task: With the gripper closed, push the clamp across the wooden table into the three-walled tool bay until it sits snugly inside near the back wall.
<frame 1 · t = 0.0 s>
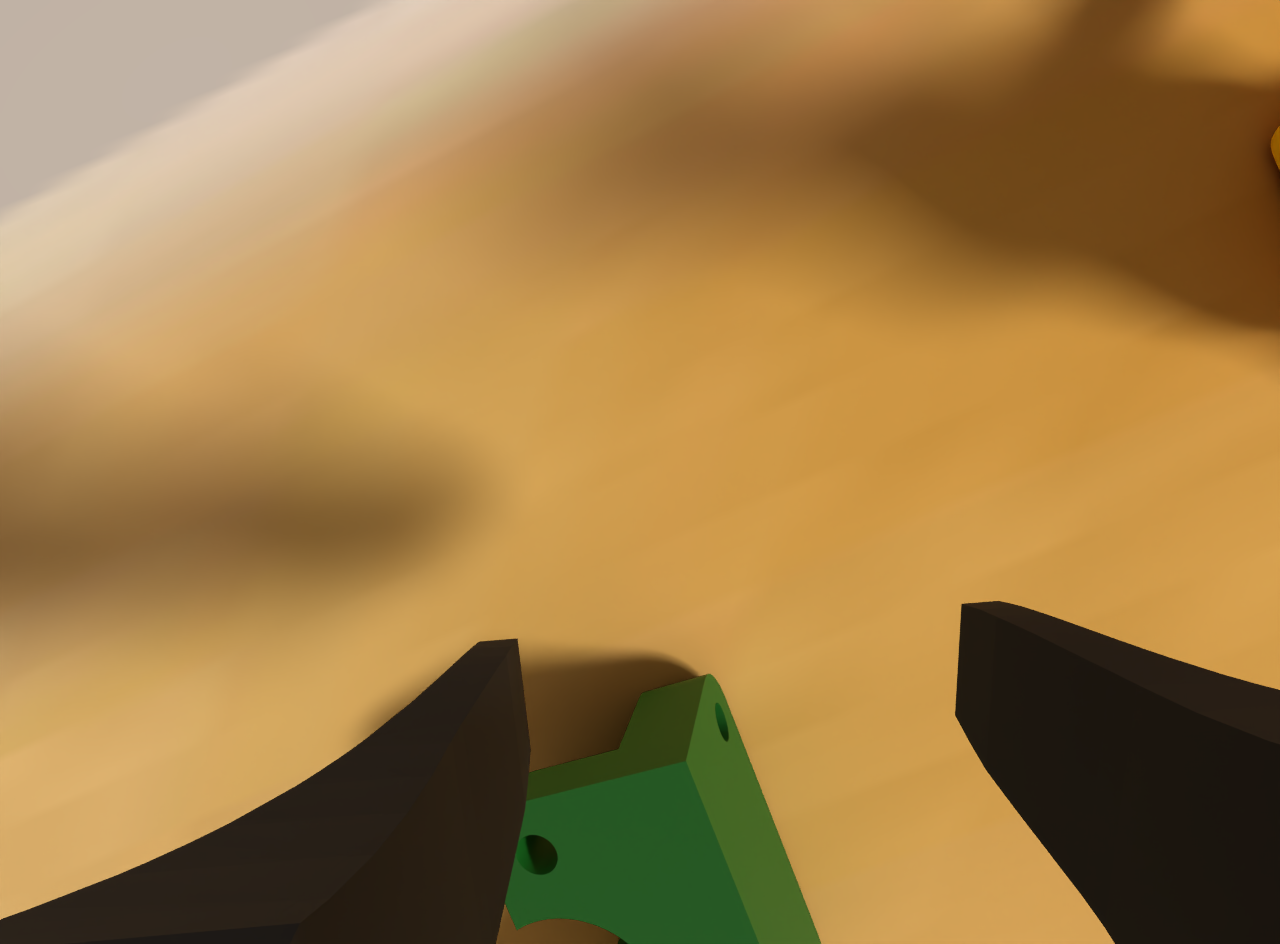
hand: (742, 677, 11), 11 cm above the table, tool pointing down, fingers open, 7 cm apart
clamp: (665, 844, 23), on the table
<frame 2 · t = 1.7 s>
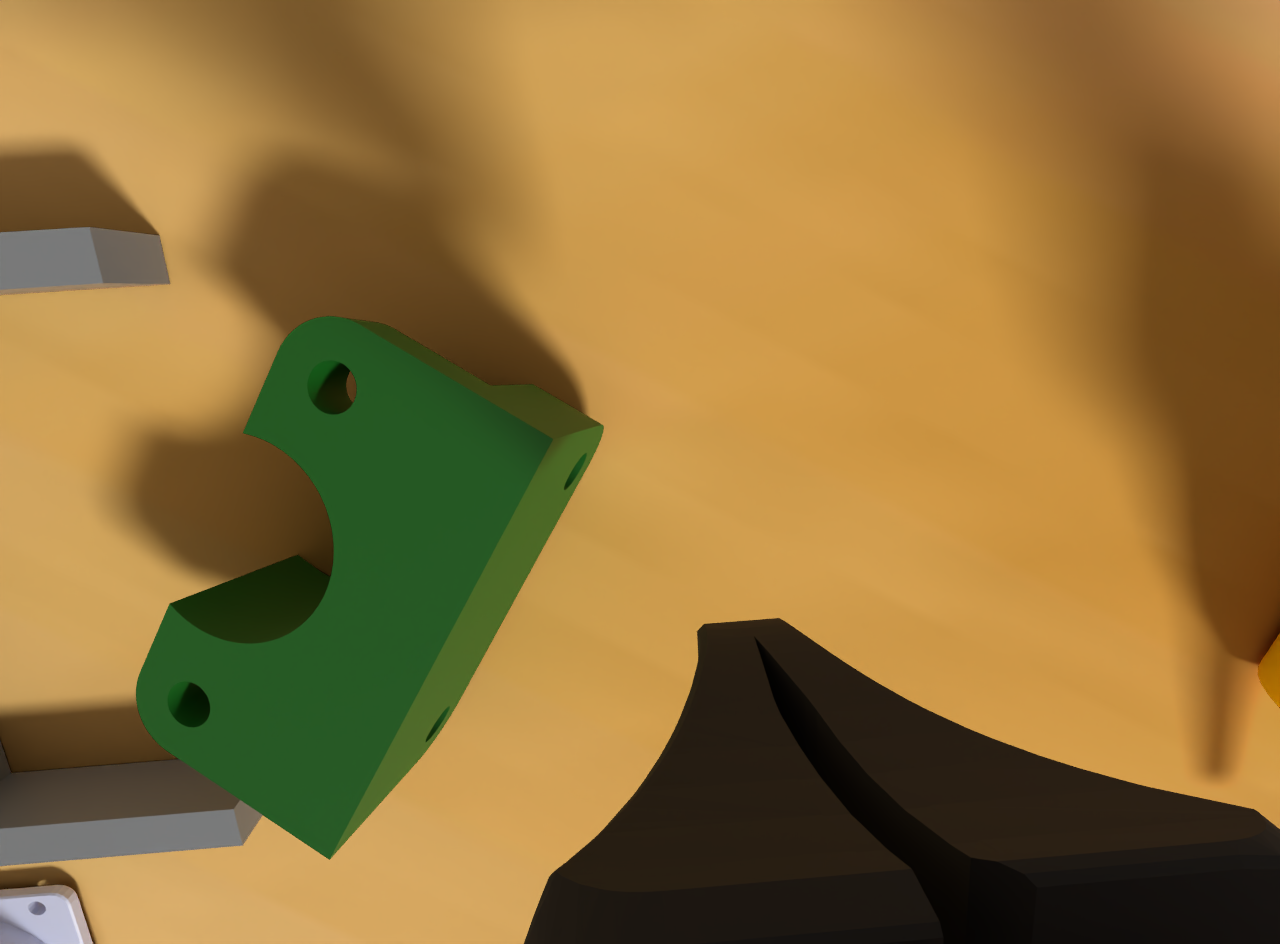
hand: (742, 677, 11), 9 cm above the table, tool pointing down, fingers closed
clamp: (413, 524, 20), on the table
tool bay: (120, 546, 20), on the table
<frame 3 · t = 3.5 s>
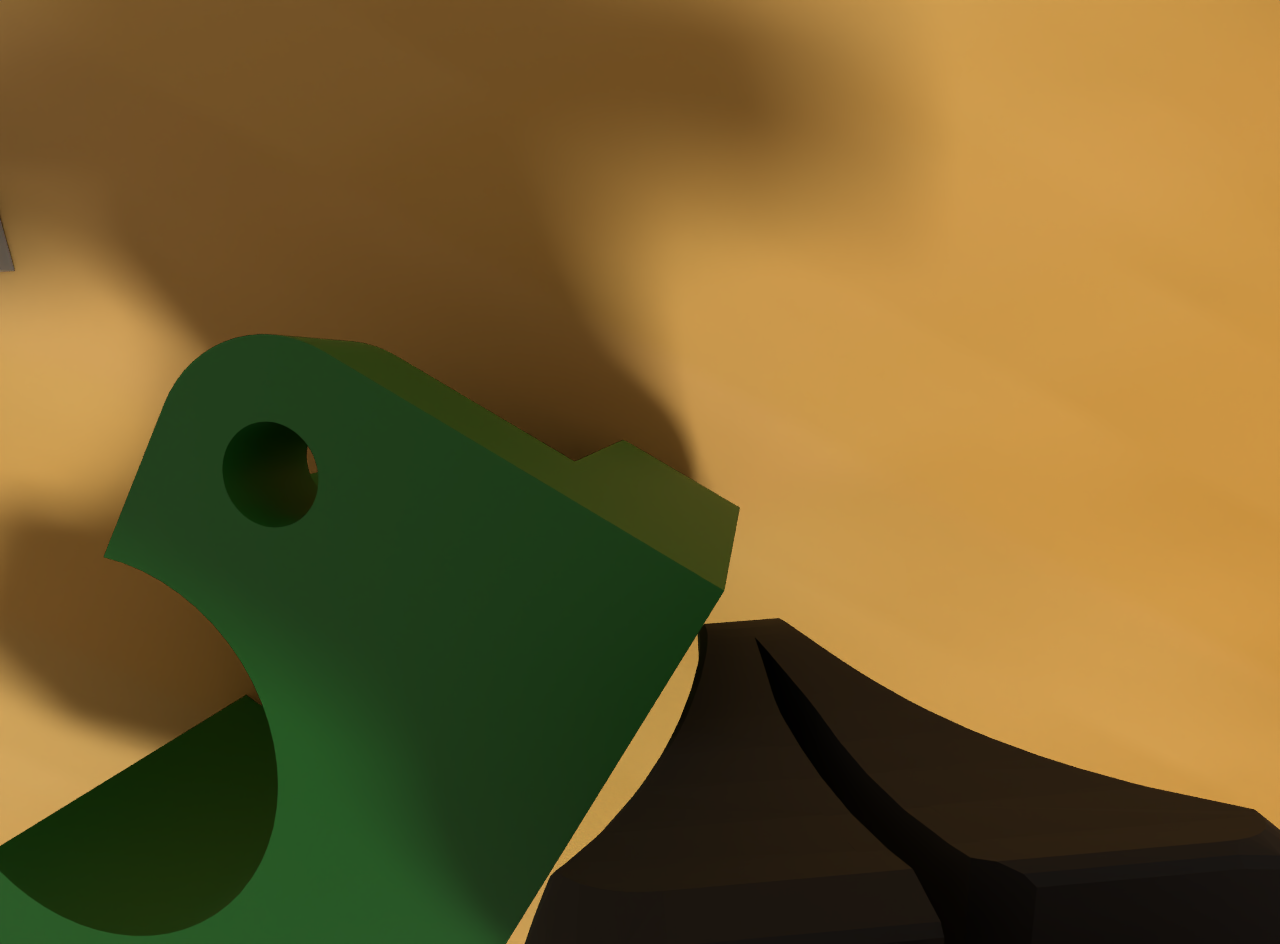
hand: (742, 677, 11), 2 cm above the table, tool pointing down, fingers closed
clamp: (424, 646, 13), on the table, touching gripper
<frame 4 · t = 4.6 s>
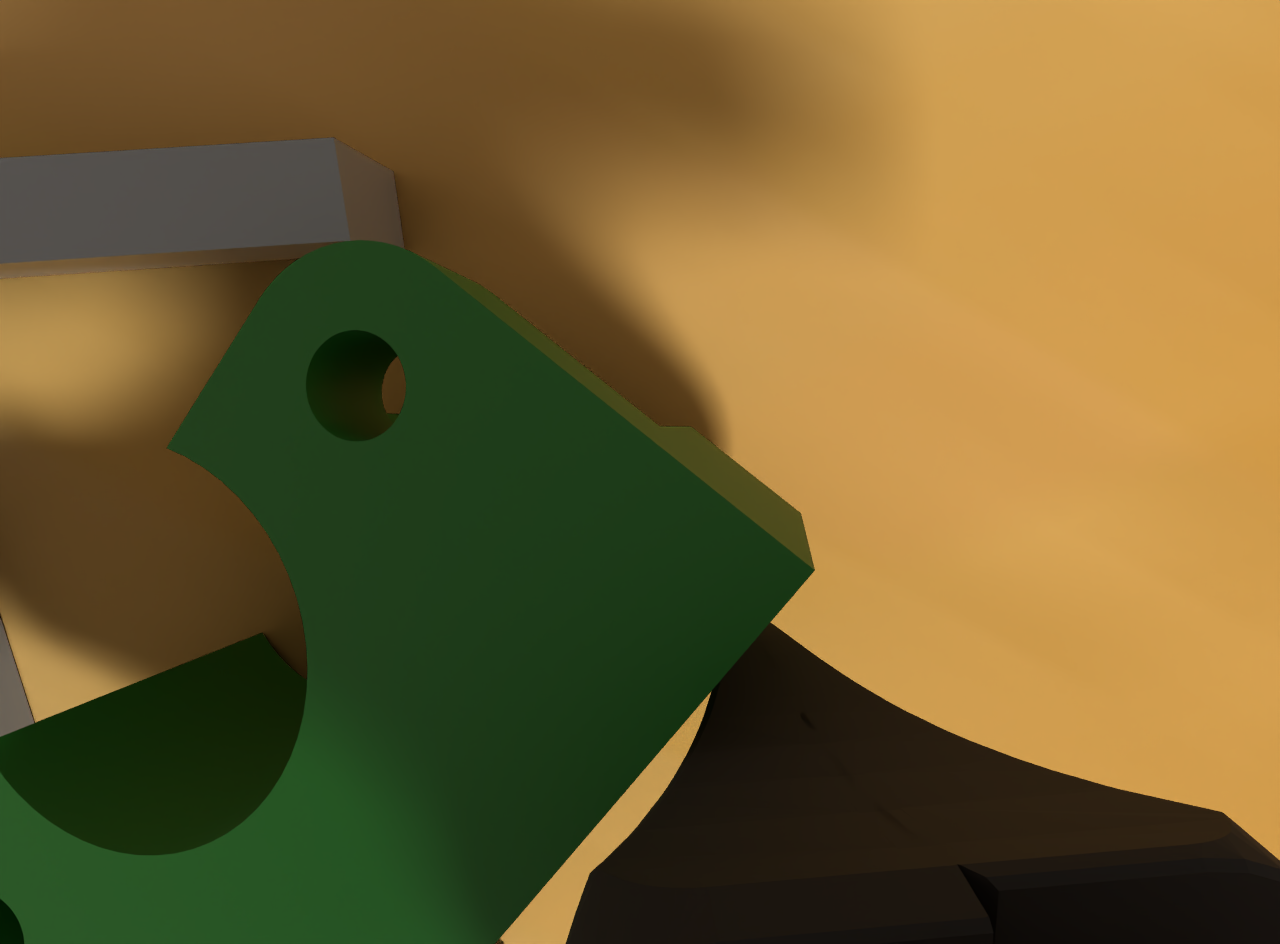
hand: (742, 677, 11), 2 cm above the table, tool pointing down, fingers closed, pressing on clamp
clamp: (445, 613, 13), on the table, touching gripper
tool bay: (298, 658, 13), on the table
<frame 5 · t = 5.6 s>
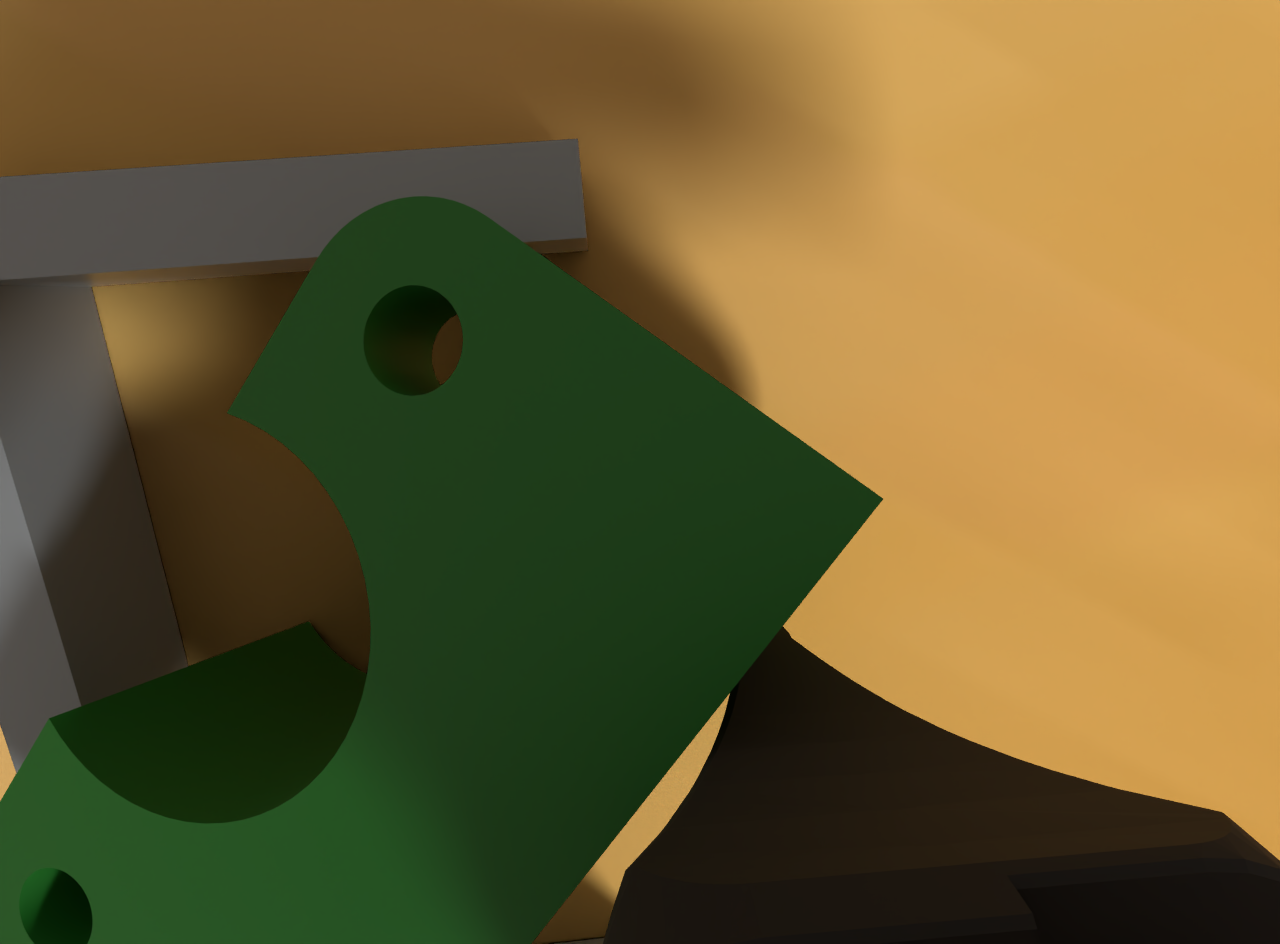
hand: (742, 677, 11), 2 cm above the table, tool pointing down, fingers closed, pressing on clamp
clamp: (489, 596, 13), on the table, touching gripper, tool bay
tool bay: (462, 650, 13), on the table
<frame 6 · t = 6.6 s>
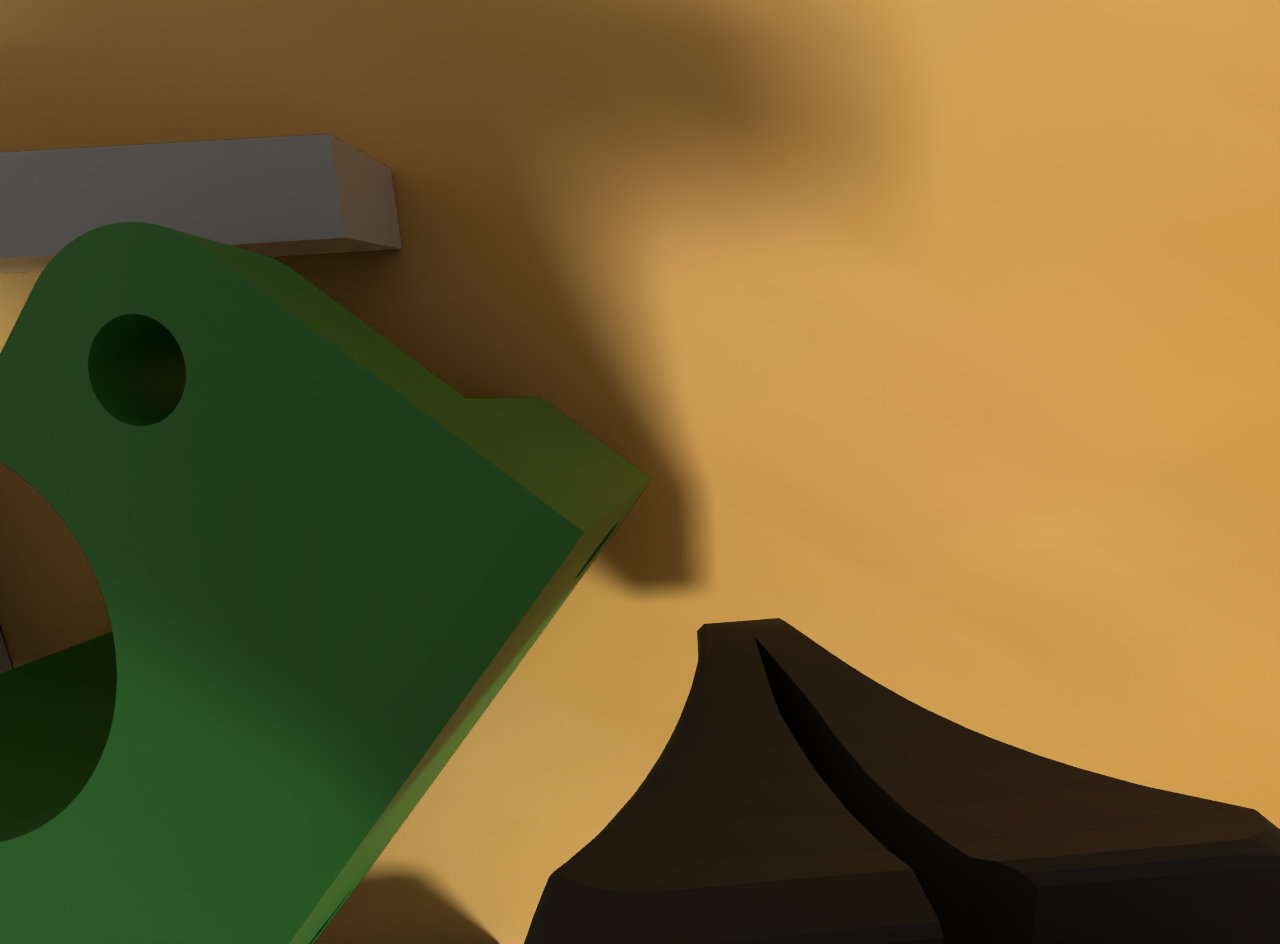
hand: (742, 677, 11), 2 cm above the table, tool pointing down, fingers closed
clamp: (326, 593, 13), on the table
tool bay: (293, 657, 13), on the table
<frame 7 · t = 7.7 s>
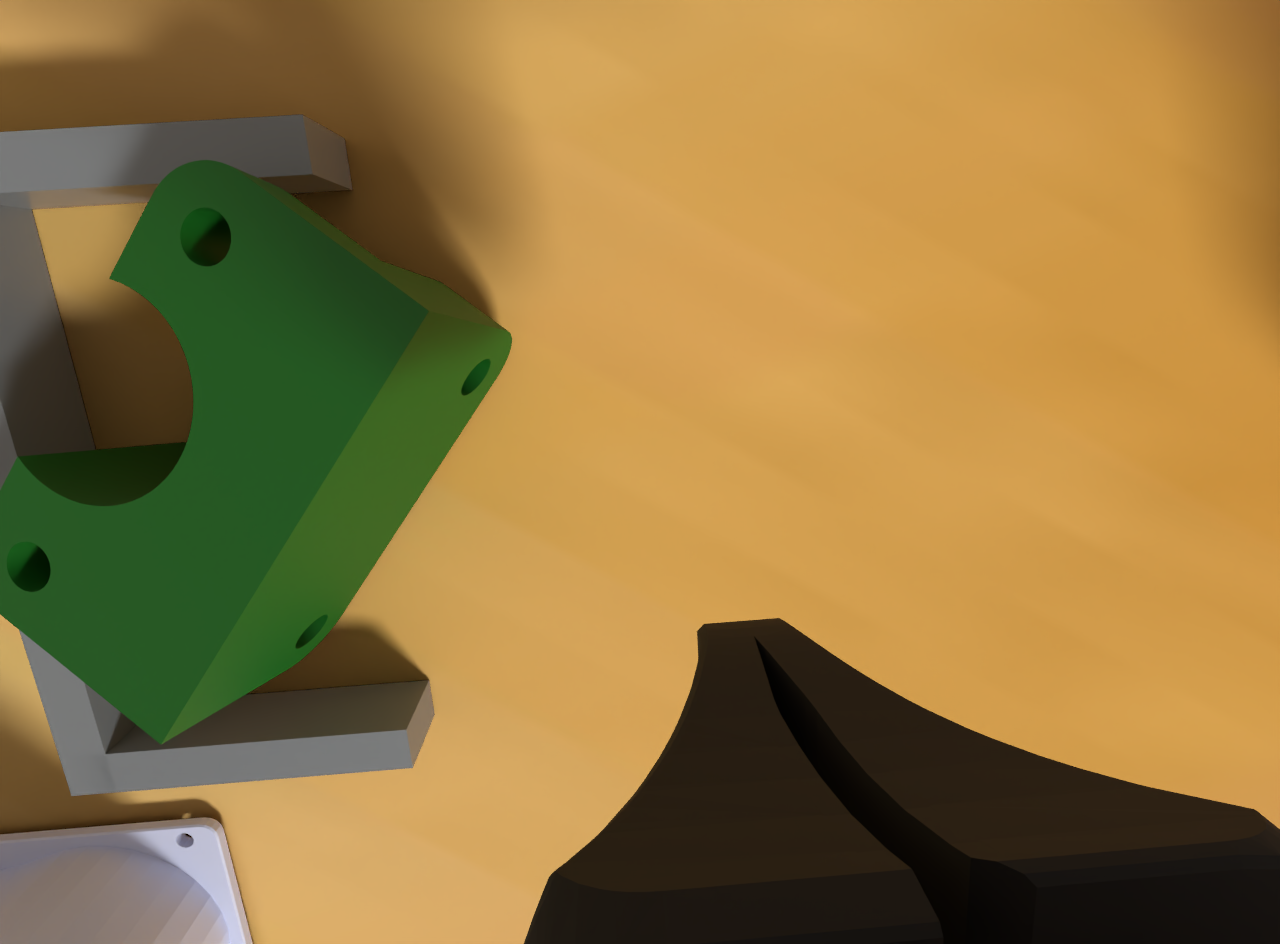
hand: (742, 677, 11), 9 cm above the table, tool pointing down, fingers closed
clamp: (310, 425, 20), on the table
tool bay: (285, 464, 20), on the table
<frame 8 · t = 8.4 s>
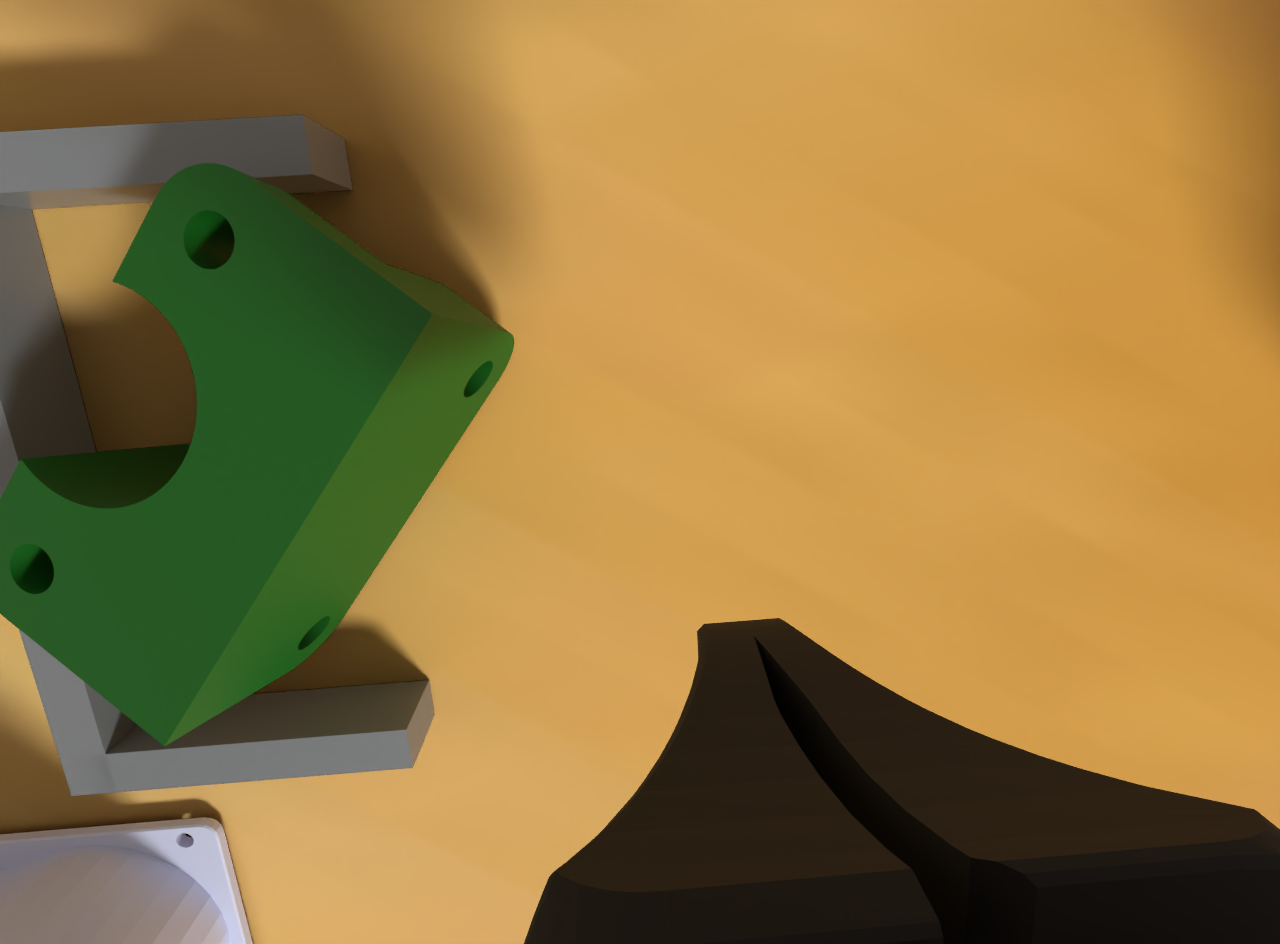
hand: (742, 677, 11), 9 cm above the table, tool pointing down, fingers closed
clamp: (312, 426, 20), on the table
tool bay: (285, 464, 20), on the table
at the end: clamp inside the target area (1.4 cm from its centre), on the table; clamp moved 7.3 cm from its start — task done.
